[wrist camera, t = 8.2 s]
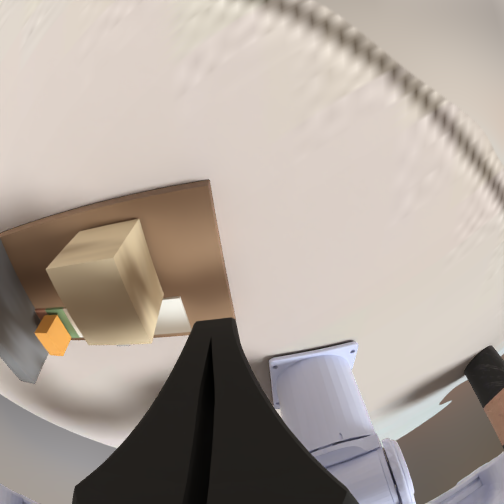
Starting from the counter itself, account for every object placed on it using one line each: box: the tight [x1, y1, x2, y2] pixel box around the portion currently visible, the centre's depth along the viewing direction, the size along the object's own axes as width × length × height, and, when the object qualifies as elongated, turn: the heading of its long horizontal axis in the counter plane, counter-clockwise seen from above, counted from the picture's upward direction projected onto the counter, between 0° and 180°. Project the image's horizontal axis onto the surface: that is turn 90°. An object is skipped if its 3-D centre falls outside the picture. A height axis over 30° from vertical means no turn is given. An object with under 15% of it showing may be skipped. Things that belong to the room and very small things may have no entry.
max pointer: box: [34, 315, 72, 356], centre depth 16 cm, size 2×2×2 cm, turn 6°
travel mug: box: [465, 346, 504, 448], centre depth 23 cm, size 8×8×20 cm
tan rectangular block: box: [46, 219, 164, 346], centre depth 13 cm, size 8×4×4 cm, turn 6°
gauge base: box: [0, 180, 236, 384], centre depth 14 cm, size 10×18×6 cm, turn 96°
